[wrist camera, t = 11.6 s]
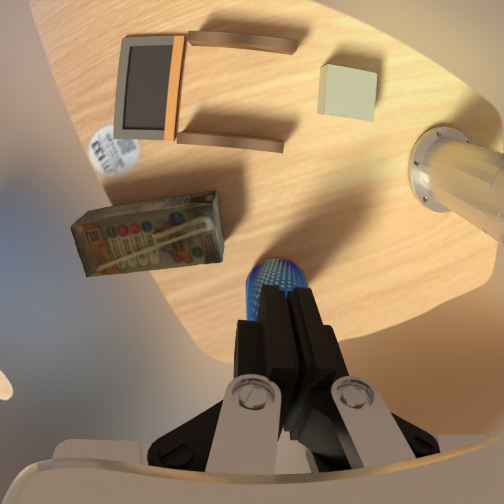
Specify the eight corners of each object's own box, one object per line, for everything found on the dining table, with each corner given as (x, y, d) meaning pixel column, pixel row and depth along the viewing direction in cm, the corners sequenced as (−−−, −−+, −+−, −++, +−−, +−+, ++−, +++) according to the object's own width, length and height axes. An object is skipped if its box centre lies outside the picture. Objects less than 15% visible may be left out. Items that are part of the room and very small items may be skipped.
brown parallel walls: (292, 46, 33) (297, 40, 30) (279, 149, 39) (282, 153, 36) (193, 36, 32) (188, 30, 29) (182, 140, 38) (176, 143, 35)
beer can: (302, 250, 45) (329, 321, 30) (305, 301, 48) (327, 379, 34) (241, 258, 45) (241, 332, 30) (249, 308, 48) (252, 389, 34)
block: (365, 75, 35) (377, 73, 31) (361, 119, 37) (373, 121, 34) (319, 67, 34) (327, 64, 31) (316, 113, 37) (324, 114, 33)
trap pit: (185, 36, 32) (184, 35, 32) (174, 140, 38) (173, 140, 37) (123, 38, 32) (122, 37, 31) (115, 138, 37) (113, 138, 37)
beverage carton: (226, 245, 44) (224, 268, 38) (100, 259, 45) (82, 282, 39) (218, 188, 41) (214, 203, 35) (86, 209, 41) (64, 226, 35)
